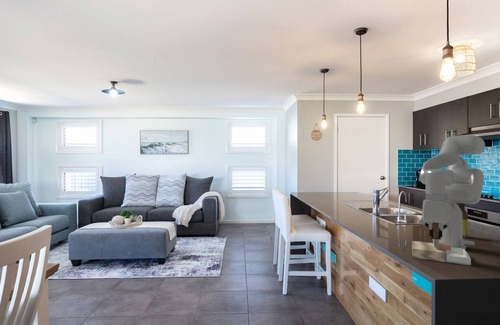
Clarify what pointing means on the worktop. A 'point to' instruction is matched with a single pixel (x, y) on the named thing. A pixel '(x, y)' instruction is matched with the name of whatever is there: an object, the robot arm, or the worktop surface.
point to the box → (457, 256)
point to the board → (427, 251)
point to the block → (444, 246)
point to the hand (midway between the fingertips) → (435, 238)
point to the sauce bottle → (464, 220)
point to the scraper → (435, 234)
